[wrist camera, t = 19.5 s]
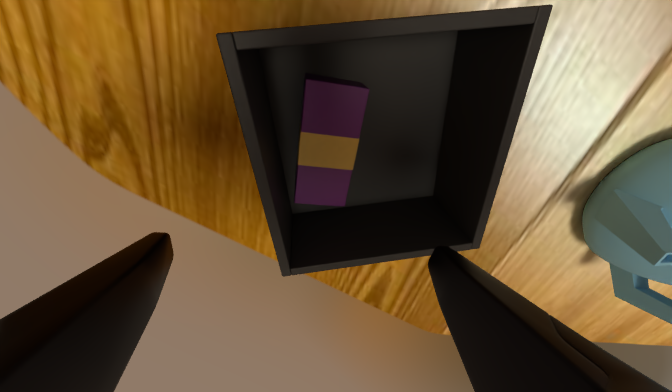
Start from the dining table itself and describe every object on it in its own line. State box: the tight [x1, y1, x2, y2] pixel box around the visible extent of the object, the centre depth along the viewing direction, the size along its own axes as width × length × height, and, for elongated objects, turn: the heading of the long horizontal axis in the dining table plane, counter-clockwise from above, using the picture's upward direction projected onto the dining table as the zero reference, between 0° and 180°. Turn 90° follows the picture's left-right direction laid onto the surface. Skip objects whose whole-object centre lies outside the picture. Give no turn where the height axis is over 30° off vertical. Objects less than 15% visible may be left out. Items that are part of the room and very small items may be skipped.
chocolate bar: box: [294, 73, 369, 206], centre depth 17 cm, size 8×4×2 cm, turn 171°
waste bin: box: [216, 5, 552, 276], centre depth 16 cm, size 13×13×6 cm
